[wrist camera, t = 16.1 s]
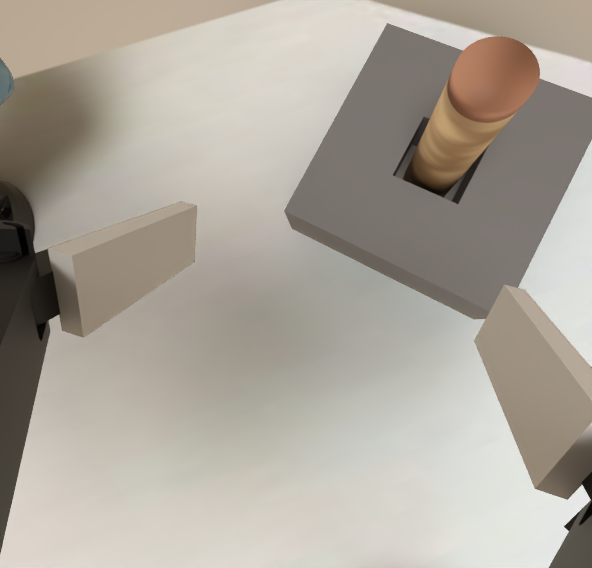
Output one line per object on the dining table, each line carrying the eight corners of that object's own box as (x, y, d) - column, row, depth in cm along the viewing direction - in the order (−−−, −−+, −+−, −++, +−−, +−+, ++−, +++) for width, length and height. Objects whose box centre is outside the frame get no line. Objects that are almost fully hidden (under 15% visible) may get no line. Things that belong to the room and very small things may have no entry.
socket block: (292, 228, 38) (284, 210, 32) (379, 68, 40) (387, 23, 34) (474, 319, 35) (502, 317, 29) (564, 140, 36) (609, 104, 30)
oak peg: (394, 192, 37) (439, 92, 21) (415, 153, 37) (475, 25, 21) (437, 212, 36) (518, 123, 20) (458, 172, 36) (553, 53, 20)
